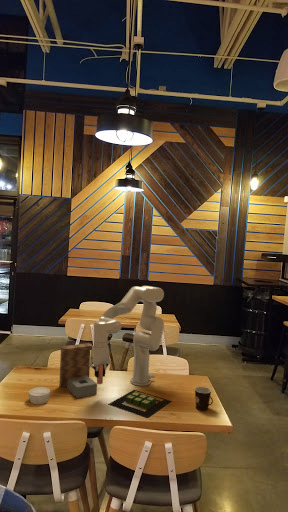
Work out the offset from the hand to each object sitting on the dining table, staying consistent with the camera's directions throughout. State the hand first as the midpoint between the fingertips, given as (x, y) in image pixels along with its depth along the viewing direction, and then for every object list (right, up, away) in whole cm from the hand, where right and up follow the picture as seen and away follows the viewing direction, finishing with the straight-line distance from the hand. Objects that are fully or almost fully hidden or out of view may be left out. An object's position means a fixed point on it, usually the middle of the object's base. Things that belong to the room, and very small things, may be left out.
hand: (99, 376), depth 207 cm
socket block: (-11, -12, +9) cm, 18 cm away
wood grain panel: (-16, -11, +16) cm, 26 cm away
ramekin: (-32, -12, -6) cm, 34 cm away
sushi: (+22, -15, -3) cm, 27 cm away
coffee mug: (+55, -16, -7) cm, 58 cm away
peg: (0, -4, 0) cm, 4 cm away
